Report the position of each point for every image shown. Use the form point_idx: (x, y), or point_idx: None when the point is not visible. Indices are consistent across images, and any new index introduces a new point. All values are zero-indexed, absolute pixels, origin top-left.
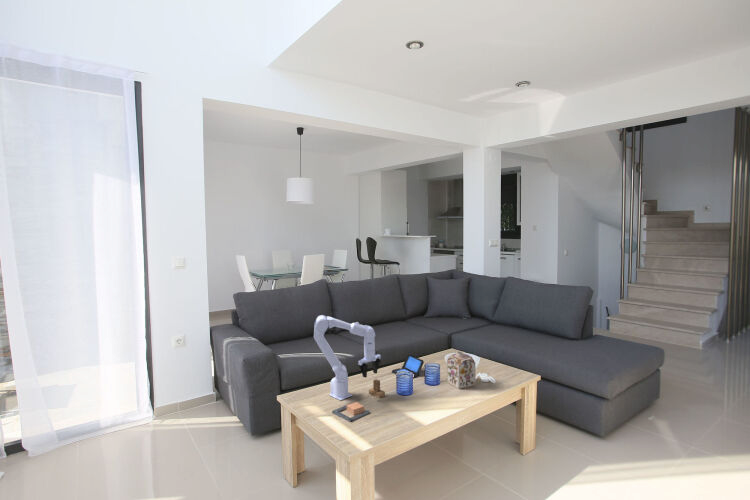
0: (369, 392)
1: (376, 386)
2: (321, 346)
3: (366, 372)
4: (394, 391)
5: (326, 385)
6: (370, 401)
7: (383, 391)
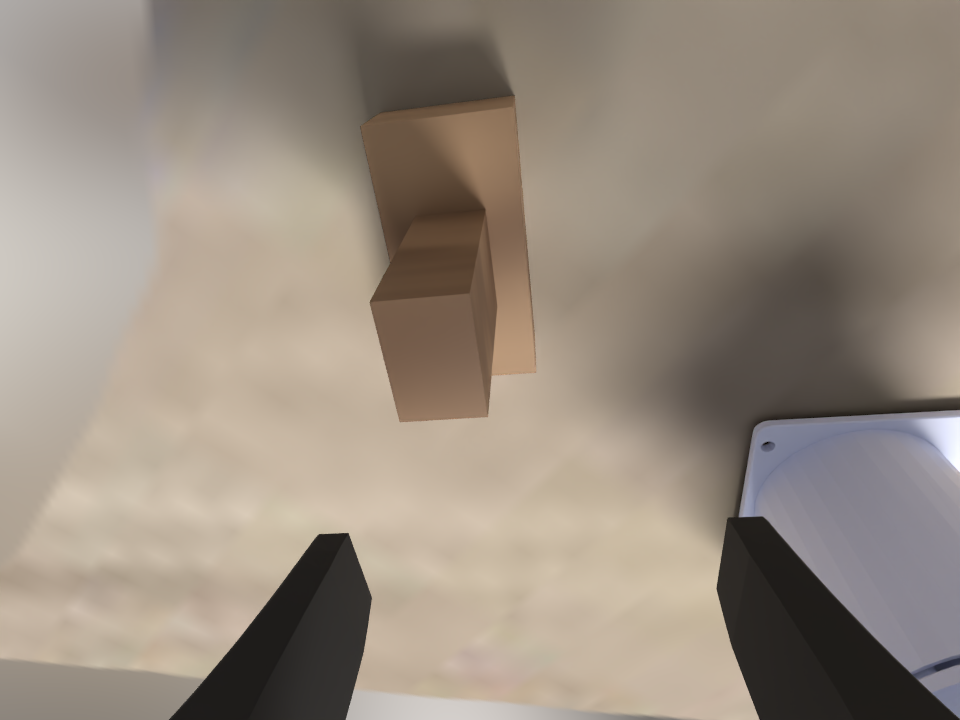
0: (534, 336)
1: (482, 270)
2: None
3: (841, 657)
4: (145, 153)
5: (712, 705)
6: (725, 95)
7: (381, 147)
